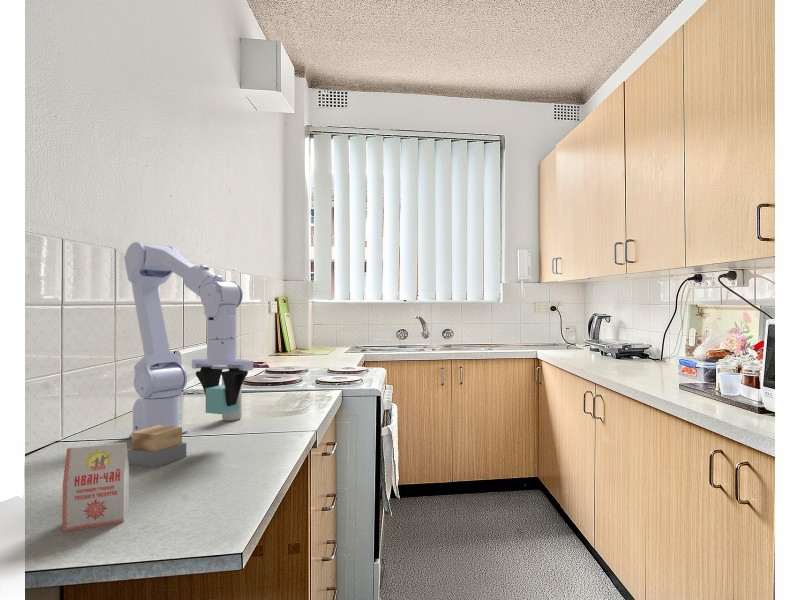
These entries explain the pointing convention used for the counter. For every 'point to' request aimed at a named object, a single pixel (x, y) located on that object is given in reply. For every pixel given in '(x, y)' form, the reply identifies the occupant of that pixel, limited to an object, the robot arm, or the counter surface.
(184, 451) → the tower base
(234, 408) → the teal block
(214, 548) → the counter surface
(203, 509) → the counter surface
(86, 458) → the tea box
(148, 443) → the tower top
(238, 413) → the beverage can
